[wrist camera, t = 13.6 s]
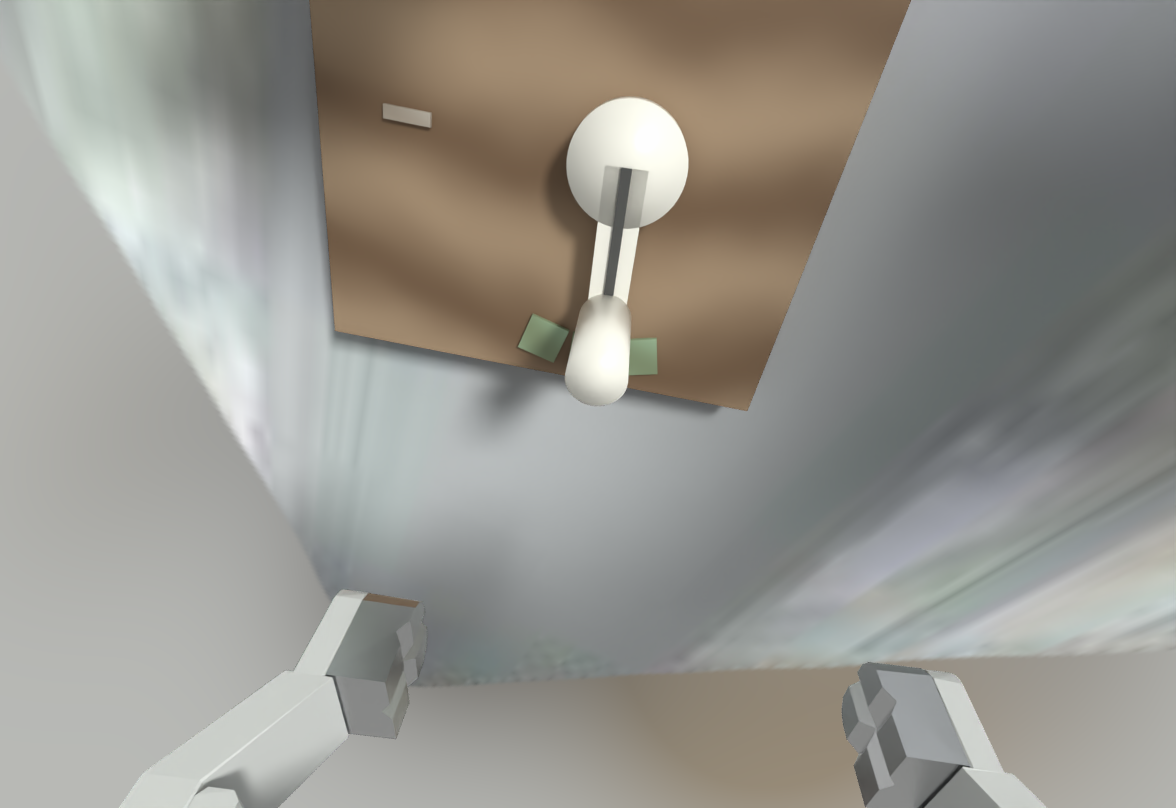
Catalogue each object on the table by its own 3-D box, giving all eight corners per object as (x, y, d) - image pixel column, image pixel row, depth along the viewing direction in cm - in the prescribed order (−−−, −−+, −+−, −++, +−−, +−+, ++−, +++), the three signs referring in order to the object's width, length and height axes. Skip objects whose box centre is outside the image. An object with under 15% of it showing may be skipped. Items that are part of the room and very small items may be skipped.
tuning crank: (576, 87, 21) (552, 108, 16) (697, 104, 21) (715, 131, 16) (553, 332, 26) (530, 408, 21) (650, 346, 26) (651, 425, 21)
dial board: (322, -222, 19) (286, -248, 17) (924, -90, 19) (954, -103, 17) (353, 313, 29) (333, 332, 27) (741, 389, 30) (747, 413, 28)
